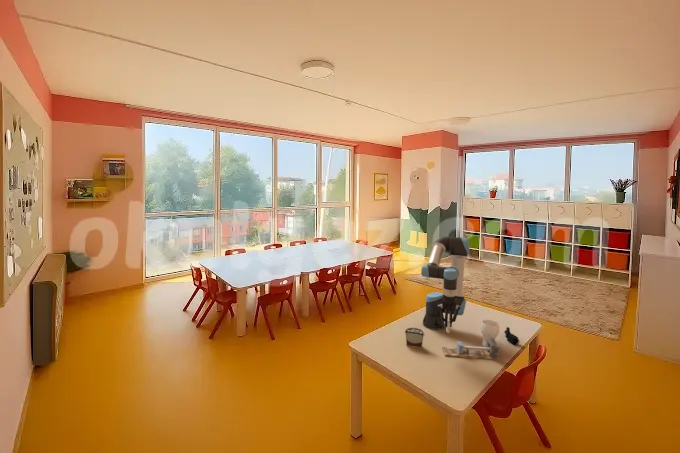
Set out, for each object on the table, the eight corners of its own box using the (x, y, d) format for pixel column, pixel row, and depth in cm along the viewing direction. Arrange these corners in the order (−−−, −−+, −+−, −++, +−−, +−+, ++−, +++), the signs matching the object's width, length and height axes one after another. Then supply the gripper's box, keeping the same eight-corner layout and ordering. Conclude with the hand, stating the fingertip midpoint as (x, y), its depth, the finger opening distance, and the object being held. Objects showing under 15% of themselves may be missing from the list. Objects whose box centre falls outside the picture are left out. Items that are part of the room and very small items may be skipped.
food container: (424, 343, 205) (425, 328, 204) (424, 348, 200) (424, 333, 198) (405, 340, 209) (405, 326, 208) (404, 345, 204) (404, 330, 202)
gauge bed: (444, 356, 191) (445, 343, 189) (442, 348, 199) (442, 335, 198) (498, 359, 187) (499, 346, 185) (492, 351, 196) (493, 338, 194)
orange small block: (481, 355, 188) (481, 353, 188) (480, 354, 190) (480, 352, 190) (483, 355, 188) (483, 354, 188) (482, 354, 190) (482, 352, 190)
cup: (499, 351, 196) (500, 328, 194) (480, 348, 199) (481, 325, 197) (497, 343, 206) (498, 320, 203) (479, 340, 209) (480, 318, 207)
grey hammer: (459, 354, 190) (459, 346, 189) (456, 348, 196) (457, 341, 195) (494, 357, 187) (494, 349, 186) (490, 351, 194) (490, 343, 193)
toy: (519, 346, 202) (520, 336, 201) (511, 345, 202) (511, 335, 201) (508, 334, 217) (509, 325, 216) (500, 334, 217) (501, 325, 217)
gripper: (439, 296, 186) (437, 334, 191) (462, 297, 185) (460, 335, 189) (437, 292, 194) (435, 328, 198) (459, 292, 192) (457, 329, 196)
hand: (447, 331), depth 193 cm, fingers closed
